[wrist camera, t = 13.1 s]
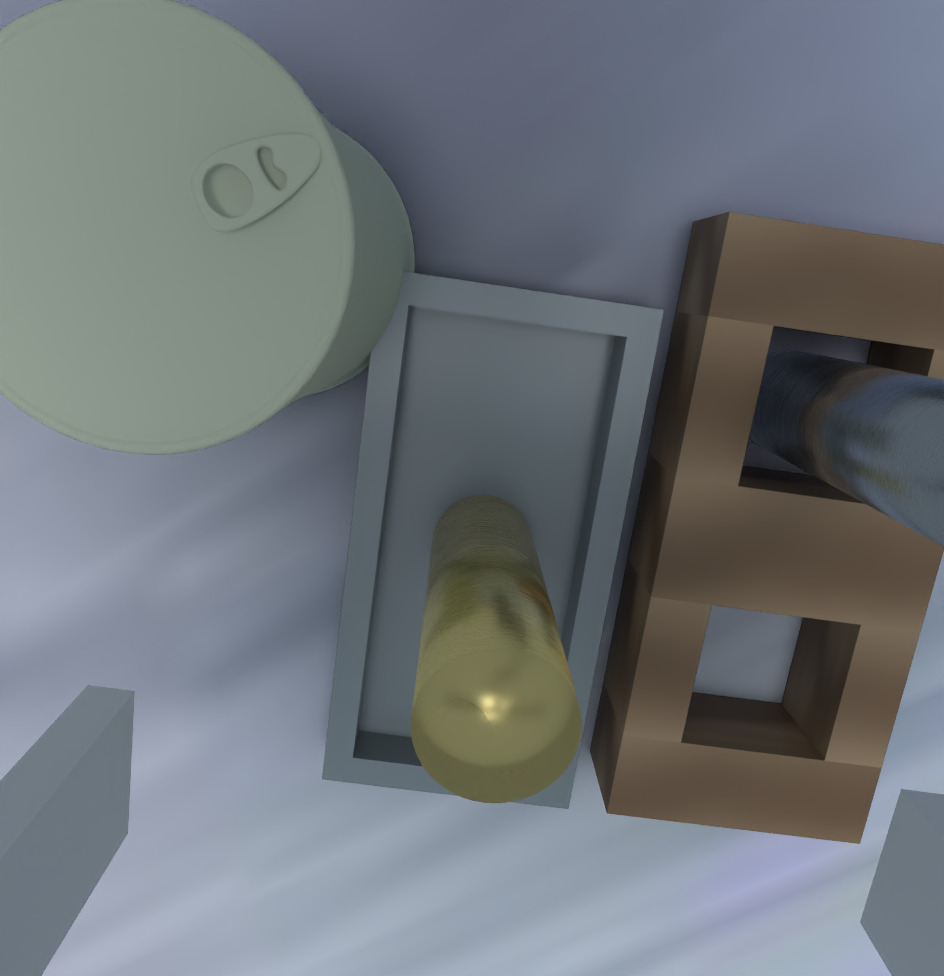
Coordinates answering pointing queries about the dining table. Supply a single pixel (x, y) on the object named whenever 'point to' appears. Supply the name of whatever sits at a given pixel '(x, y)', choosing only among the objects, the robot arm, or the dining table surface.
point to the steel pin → (859, 432)
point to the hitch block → (767, 546)
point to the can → (178, 230)
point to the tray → (482, 487)
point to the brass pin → (491, 661)
